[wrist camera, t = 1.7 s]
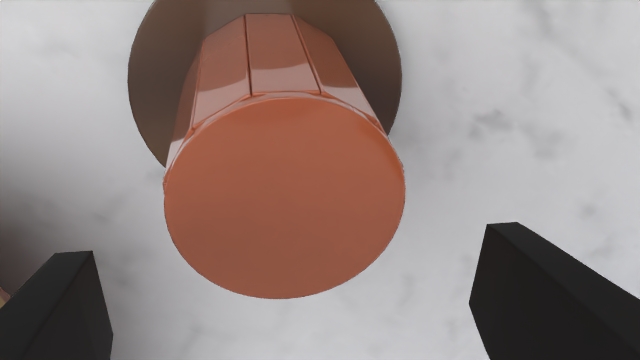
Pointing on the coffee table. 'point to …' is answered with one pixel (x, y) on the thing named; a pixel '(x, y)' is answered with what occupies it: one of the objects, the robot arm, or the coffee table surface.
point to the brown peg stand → (222, 8)
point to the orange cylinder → (278, 163)
